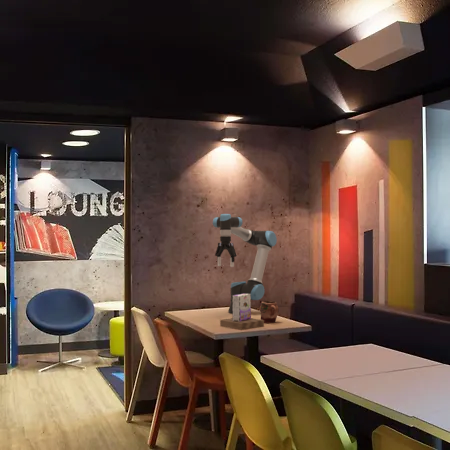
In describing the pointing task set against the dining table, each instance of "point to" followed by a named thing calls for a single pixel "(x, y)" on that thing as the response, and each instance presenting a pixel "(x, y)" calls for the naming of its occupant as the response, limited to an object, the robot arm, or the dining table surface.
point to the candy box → (241, 307)
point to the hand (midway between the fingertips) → (225, 266)
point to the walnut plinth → (242, 323)
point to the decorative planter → (269, 311)
